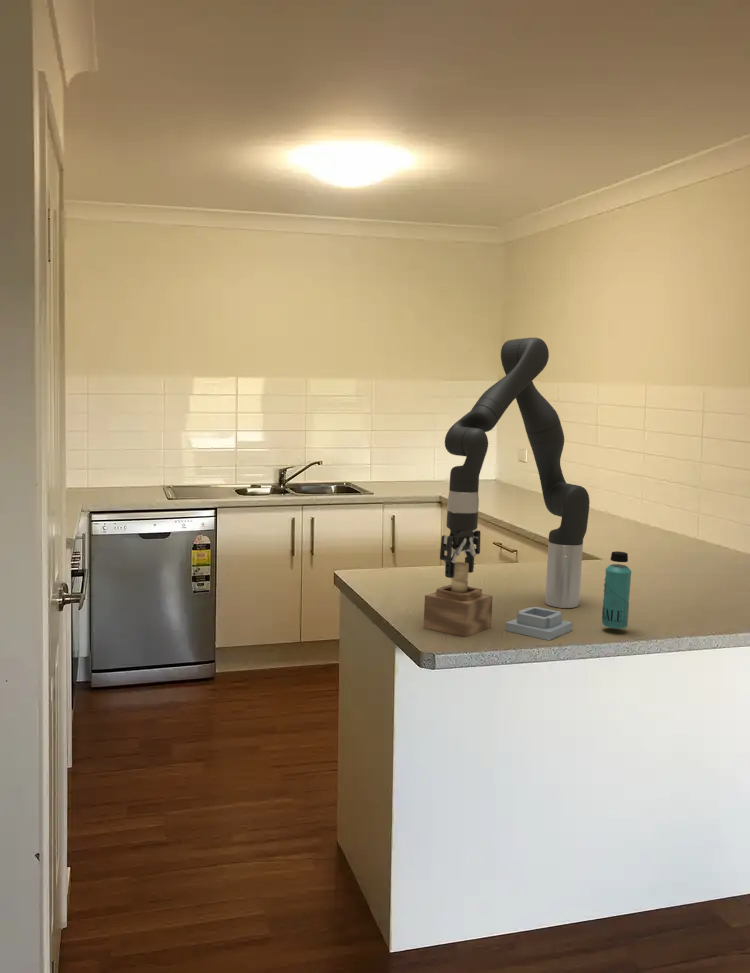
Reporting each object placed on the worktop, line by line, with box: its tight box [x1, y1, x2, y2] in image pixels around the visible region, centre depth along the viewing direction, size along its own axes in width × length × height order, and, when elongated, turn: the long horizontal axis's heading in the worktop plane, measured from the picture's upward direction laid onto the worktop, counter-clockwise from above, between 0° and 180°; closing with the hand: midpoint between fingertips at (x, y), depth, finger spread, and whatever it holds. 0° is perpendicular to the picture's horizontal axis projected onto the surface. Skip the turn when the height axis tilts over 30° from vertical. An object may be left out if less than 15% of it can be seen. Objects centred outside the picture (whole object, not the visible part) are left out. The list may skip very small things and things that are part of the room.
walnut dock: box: [423, 584, 494, 638], centre depth 235 cm, size 12×12×10 cm
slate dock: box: [504, 606, 573, 641], centre depth 235 cm, size 12×12×4 cm
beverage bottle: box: [601, 550, 632, 630], centre depth 236 cm, size 6×7×20 cm
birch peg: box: [450, 561, 469, 594], centre depth 234 cm, size 4×4×8 cm
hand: (459, 574), depth 234 cm, fingers open, 8 cm apart
